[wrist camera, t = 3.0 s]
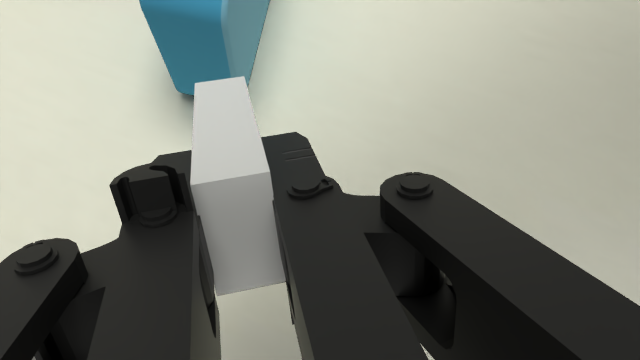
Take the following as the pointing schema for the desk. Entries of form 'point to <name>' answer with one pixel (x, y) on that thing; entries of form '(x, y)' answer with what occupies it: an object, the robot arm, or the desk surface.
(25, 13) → the desk surface
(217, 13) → the data package
